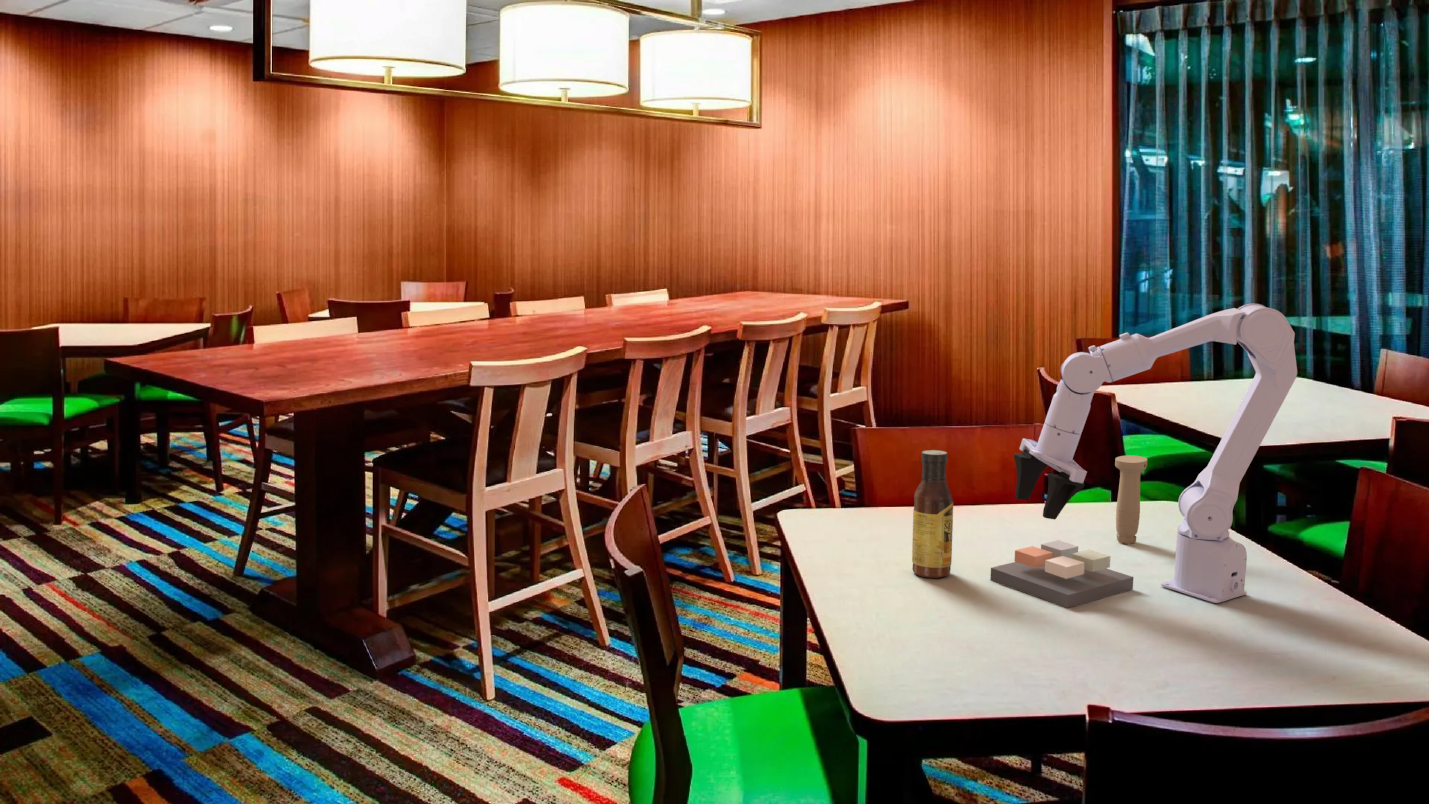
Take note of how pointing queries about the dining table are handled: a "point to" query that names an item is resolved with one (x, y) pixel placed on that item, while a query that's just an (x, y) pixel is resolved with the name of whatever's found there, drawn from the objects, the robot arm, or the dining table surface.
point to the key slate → (1060, 548)
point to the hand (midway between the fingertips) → (1035, 508)
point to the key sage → (1092, 560)
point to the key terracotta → (1032, 556)
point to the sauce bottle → (932, 518)
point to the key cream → (1064, 567)
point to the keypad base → (1062, 583)
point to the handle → (1128, 497)
